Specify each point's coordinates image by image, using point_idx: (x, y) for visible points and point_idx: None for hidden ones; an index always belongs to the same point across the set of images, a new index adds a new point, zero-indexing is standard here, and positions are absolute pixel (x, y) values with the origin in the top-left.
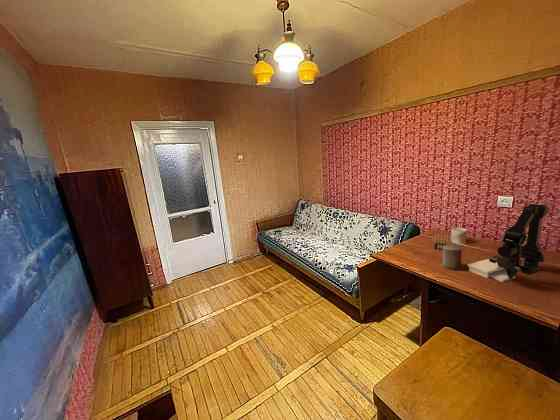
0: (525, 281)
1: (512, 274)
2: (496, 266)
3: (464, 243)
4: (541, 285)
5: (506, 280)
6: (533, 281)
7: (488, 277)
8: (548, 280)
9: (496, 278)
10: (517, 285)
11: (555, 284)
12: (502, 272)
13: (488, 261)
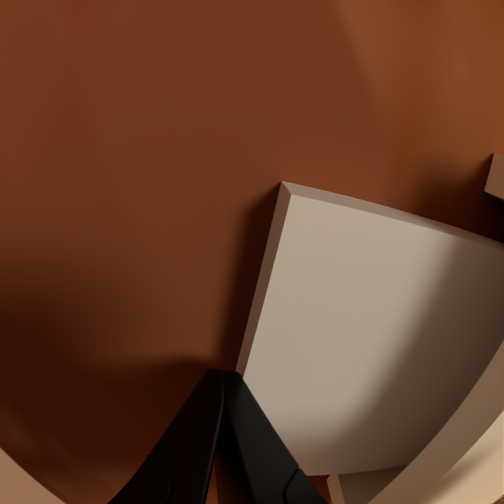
0: (110, 432)
1: (145, 461)
2: (459, 489)
3: (501, 502)
4: (14, 420)
5: (253, 303)
6: (88, 460)
7: (488, 186)
8: (76, 498)
9: (403, 215)
10: (63, 247)
11: (22, 468)
12: (363, 456)
13: (500, 489)
